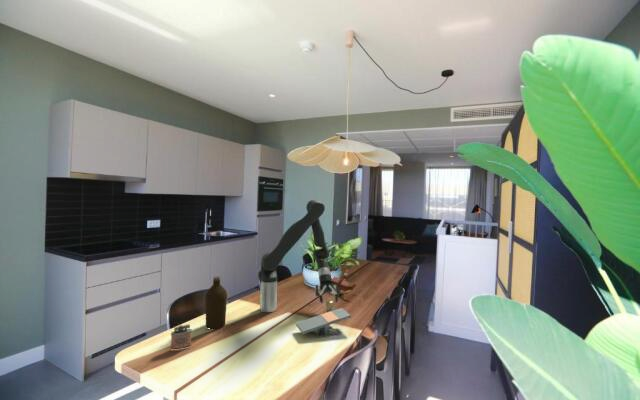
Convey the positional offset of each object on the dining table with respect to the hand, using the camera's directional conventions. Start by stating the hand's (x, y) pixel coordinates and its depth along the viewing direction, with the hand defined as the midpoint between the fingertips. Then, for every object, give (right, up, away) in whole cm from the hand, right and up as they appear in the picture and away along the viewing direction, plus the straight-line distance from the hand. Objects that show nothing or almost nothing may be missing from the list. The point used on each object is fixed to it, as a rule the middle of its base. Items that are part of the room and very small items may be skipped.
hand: (329, 302), depth 163 cm
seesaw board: (-3, -3, -19) cm, 20 cm away
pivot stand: (-4, -8, -19) cm, 21 cm away
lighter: (-66, -6, -39) cm, 77 cm away
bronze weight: (0, -8, -2) cm, 8 cm away
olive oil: (-59, -6, -16) cm, 62 cm away
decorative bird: (+10, -8, +39) cm, 41 cm away
